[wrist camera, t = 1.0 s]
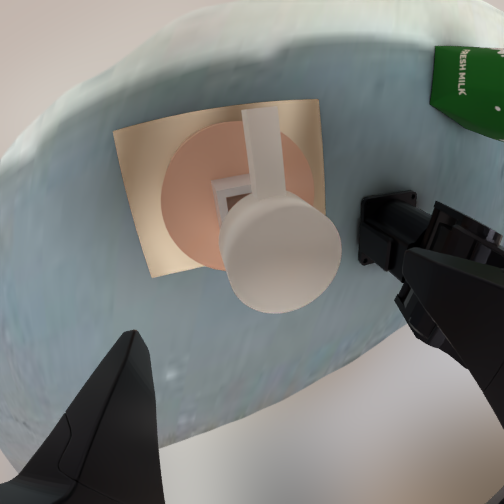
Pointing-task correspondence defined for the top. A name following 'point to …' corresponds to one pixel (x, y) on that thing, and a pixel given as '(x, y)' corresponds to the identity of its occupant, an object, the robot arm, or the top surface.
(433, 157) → the top surface
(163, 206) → the soap jar
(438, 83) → the milk carton
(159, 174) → the birch board
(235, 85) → the top surface
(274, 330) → the top surface
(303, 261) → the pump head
